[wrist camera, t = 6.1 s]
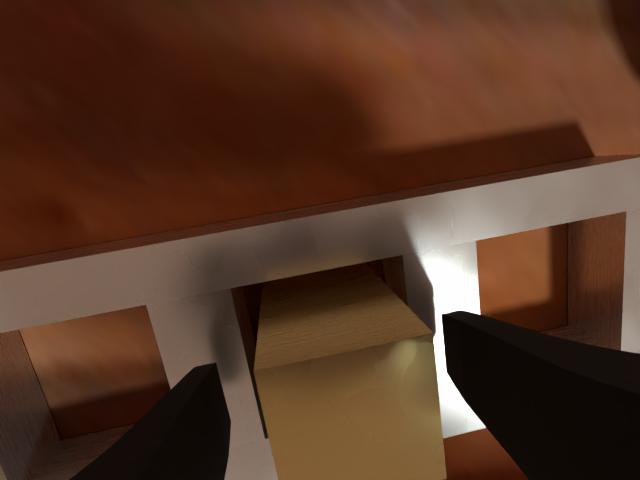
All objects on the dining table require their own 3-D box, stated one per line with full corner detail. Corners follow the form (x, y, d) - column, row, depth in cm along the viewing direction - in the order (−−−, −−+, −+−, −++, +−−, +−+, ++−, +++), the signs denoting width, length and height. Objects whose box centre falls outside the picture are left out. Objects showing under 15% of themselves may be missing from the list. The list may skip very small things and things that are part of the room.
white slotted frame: (592, 354, 16) (647, 387, 13) (42, 485, 13) (-7, 550, 11) (596, 155, 14) (662, 153, 11) (-48, 269, 11) (-130, 295, 9)
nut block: (376, 352, 14) (446, 478, 8) (282, 373, 14) (287, 520, 8) (364, 262, 13) (433, 332, 8) (262, 281, 13) (253, 371, 7)
